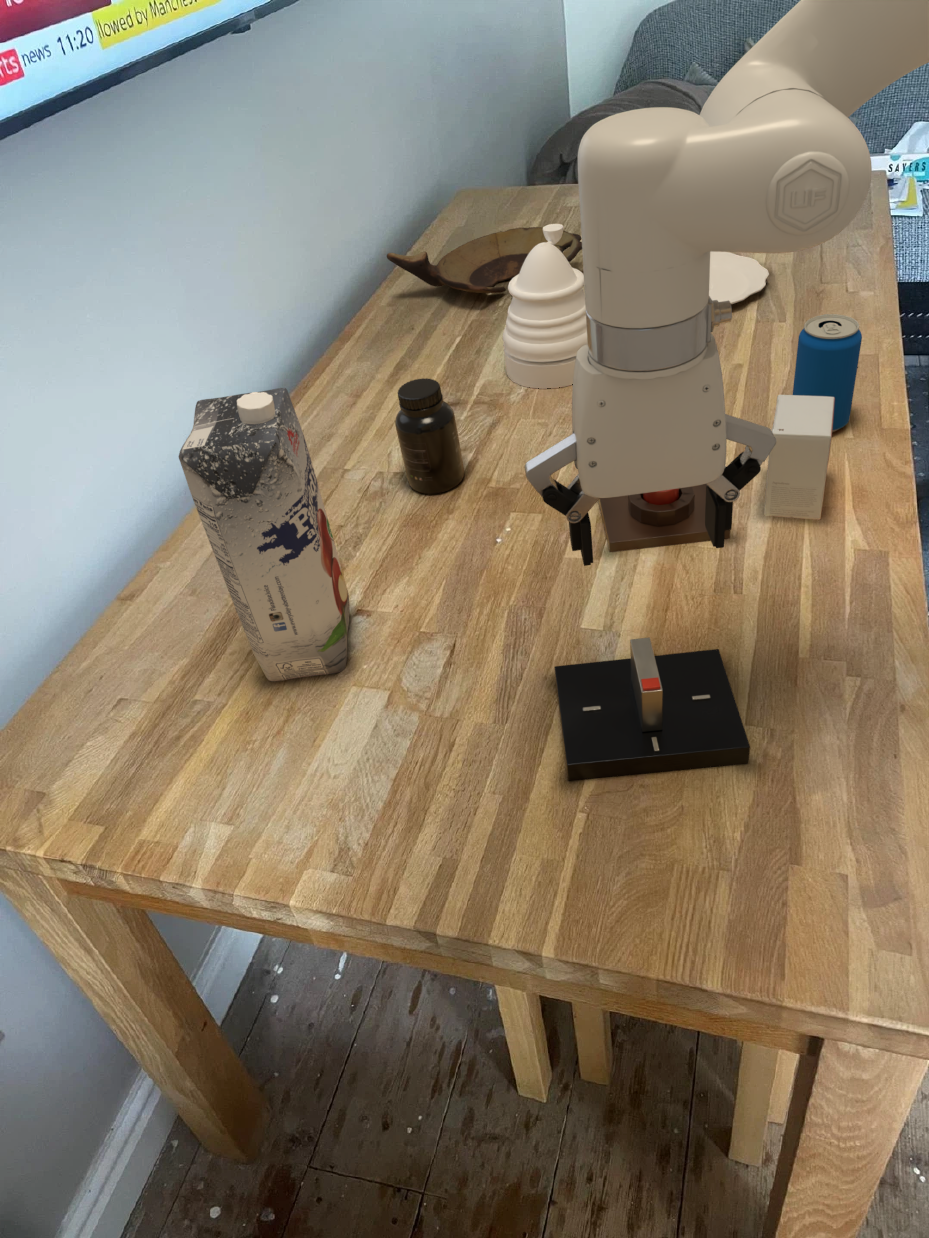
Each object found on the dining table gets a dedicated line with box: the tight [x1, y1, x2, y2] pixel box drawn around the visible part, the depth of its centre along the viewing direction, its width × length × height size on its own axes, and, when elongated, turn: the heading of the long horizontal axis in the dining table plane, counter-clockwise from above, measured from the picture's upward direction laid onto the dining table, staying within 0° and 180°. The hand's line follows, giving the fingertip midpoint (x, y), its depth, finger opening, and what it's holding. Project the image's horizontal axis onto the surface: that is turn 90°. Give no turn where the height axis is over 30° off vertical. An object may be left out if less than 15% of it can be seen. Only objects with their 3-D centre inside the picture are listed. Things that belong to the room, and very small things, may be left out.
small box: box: [763, 394, 835, 521], centre depth 95 cm, size 8×6×10 cm
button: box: [643, 488, 679, 505], centre depth 96 cm, size 4×4×2 cm
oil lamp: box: [386, 226, 582, 294], centre depth 151 cm, size 22×30×8 cm
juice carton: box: [178, 387, 350, 682], centre depth 82 cm, size 9×10×27 cm
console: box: [554, 648, 751, 782], centre depth 77 cm, size 14×11×3 cm
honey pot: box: [502, 223, 588, 390], centre depth 123 cm, size 13×13×18 cm
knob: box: [629, 637, 663, 732], centre depth 75 cm, size 6×2×5 cm, turn 1°
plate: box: [709, 252, 770, 305], centre depth 141 cm, size 21×21×2 cm
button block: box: [597, 484, 731, 553], centre depth 97 cm, size 12×10×4 cm
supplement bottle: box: [394, 377, 465, 495], centre depth 107 cm, size 7×7×12 cm
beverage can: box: [792, 313, 863, 433], centre depth 105 cm, size 6×6×12 cm
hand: (649, 545), depth 71 cm, fingers open, 9 cm apart
